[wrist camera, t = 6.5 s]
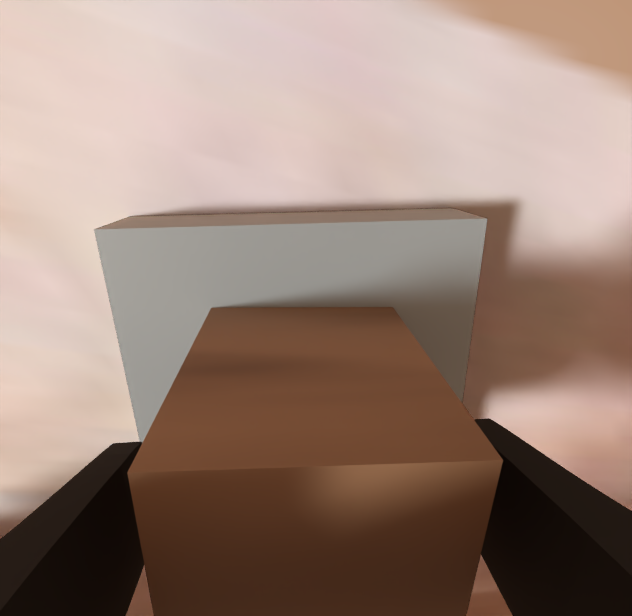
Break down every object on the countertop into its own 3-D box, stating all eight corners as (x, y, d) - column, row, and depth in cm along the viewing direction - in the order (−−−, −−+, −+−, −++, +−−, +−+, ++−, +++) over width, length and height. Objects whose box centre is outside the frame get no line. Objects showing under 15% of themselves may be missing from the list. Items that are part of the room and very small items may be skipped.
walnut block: (378, 451, 13) (450, 679, 7) (222, 455, 12) (169, 700, 7) (392, 307, 11) (503, 460, 5) (211, 307, 11) (127, 472, 5)
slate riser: (420, 448, 17) (448, 506, 14) (180, 463, 16) (158, 527, 13) (444, 205, 13) (487, 218, 10) (137, 213, 12) (94, 229, 10)
